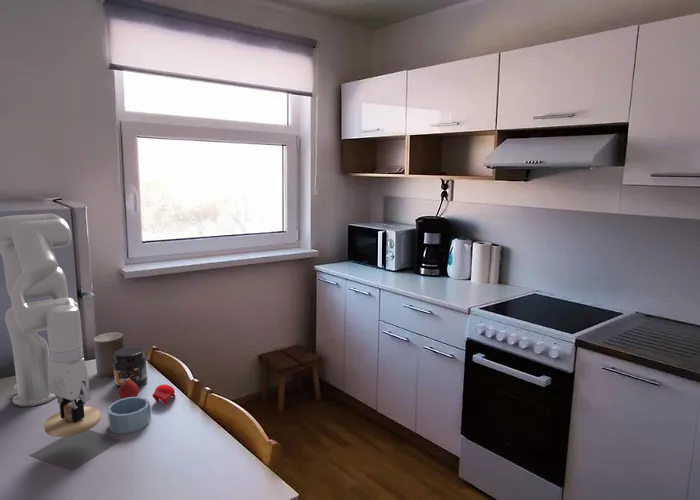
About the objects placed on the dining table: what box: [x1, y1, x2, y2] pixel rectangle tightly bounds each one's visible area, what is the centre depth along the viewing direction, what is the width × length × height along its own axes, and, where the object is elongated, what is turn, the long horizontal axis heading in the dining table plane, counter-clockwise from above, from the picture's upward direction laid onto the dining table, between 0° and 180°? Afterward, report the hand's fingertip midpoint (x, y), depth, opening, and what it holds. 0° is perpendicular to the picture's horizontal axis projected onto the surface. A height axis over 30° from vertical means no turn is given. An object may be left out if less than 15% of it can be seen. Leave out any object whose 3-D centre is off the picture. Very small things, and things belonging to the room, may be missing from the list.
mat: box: [29, 429, 122, 472], centre depth 132 cm, size 16×15×1 cm
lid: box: [43, 402, 101, 438], centre depth 131 cm, size 13×13×5 cm
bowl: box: [106, 396, 152, 434], centre depth 144 cm, size 11×11×6 cm
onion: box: [118, 378, 140, 399], centre depth 157 cm, size 6×6×8 cm
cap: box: [151, 384, 177, 406], centre depth 158 cm, size 8×6×6 cm
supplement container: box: [113, 345, 148, 390], centre depth 169 cm, size 10×10×12 cm
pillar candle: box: [93, 331, 125, 379], centre depth 178 cm, size 10×10×15 cm
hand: (72, 417), depth 131 cm, fingers closed on lid, 3 cm apart
